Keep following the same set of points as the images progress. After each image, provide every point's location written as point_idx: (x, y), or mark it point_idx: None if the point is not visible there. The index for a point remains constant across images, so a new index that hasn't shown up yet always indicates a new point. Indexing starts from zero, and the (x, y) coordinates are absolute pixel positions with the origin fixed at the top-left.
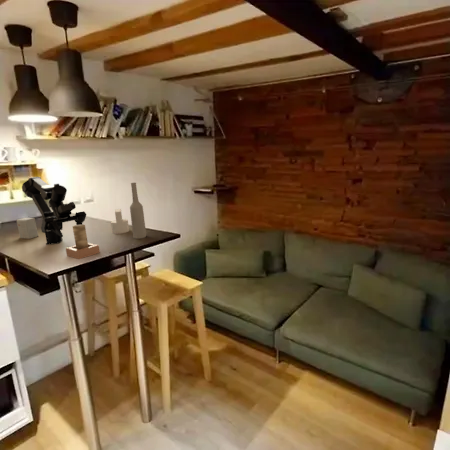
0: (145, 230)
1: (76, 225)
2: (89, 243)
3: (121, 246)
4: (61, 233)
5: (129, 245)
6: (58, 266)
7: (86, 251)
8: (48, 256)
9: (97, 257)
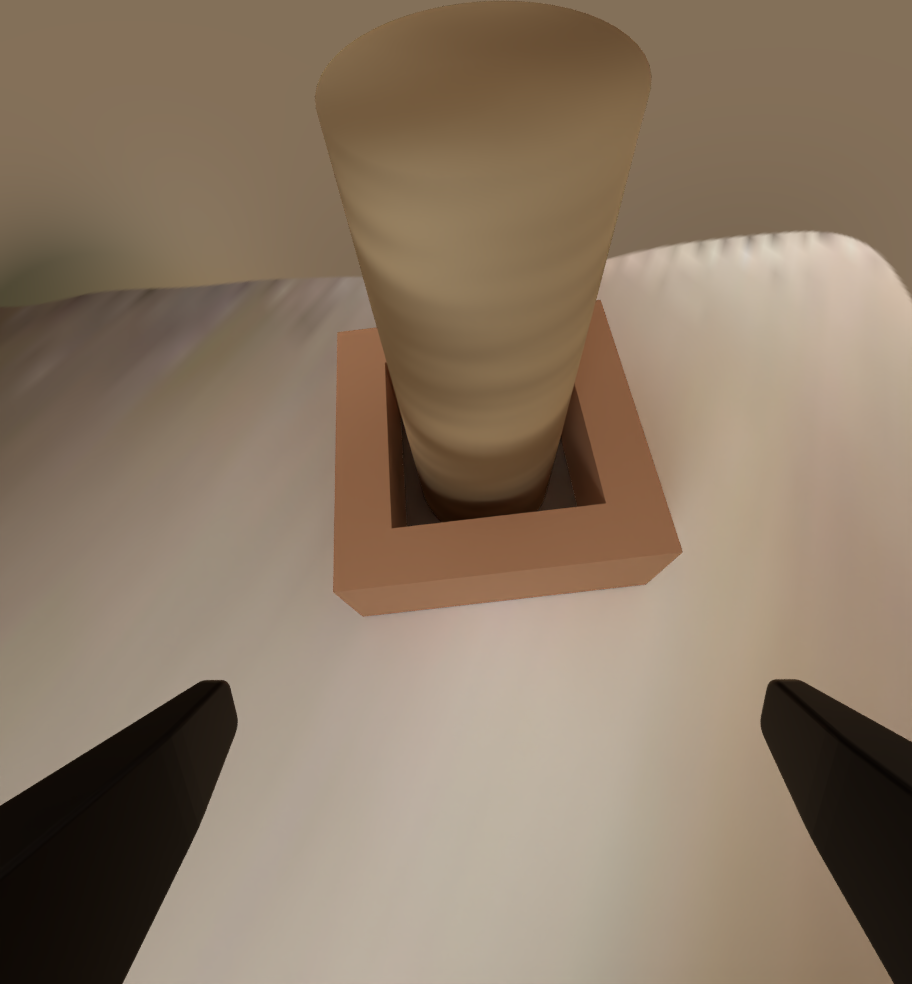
0: None
1: (500, 140)
2: (352, 480)
3: (128, 399)
4: (839, 719)
5: (79, 369)
6: (788, 324)
7: None
8: None
9: None
